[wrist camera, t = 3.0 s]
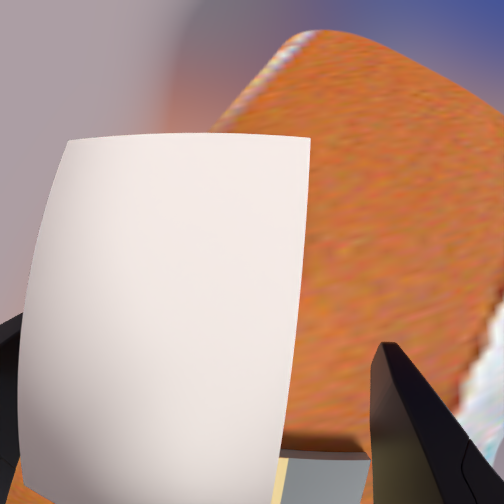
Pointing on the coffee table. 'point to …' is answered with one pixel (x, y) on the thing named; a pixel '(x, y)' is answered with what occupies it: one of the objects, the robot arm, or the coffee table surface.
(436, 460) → the robot arm
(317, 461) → the board
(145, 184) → the panel
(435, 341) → the coffee table surface
